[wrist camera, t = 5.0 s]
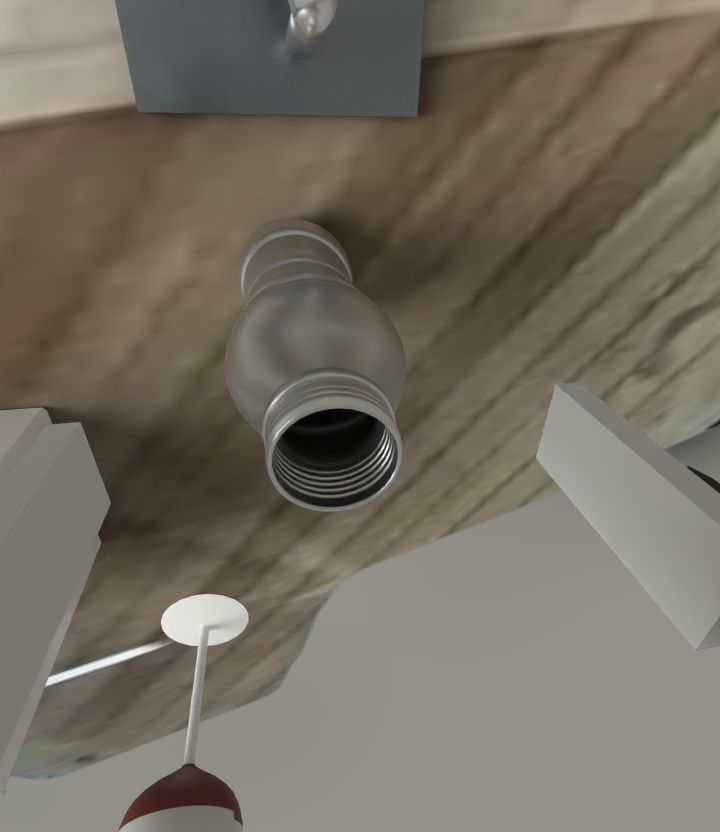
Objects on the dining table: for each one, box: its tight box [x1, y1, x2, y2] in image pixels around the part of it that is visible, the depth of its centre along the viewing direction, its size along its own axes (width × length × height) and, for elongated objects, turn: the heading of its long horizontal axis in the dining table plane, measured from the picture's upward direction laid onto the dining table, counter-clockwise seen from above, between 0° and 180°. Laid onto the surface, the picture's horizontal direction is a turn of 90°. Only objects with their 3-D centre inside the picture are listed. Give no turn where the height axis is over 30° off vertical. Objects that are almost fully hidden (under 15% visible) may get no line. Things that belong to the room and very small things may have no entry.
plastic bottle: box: [225, 218, 405, 512], centre depth 20 cm, size 6×7×20 cm
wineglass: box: [118, 594, 249, 832], centre depth 36 cm, size 9×10×22 cm
